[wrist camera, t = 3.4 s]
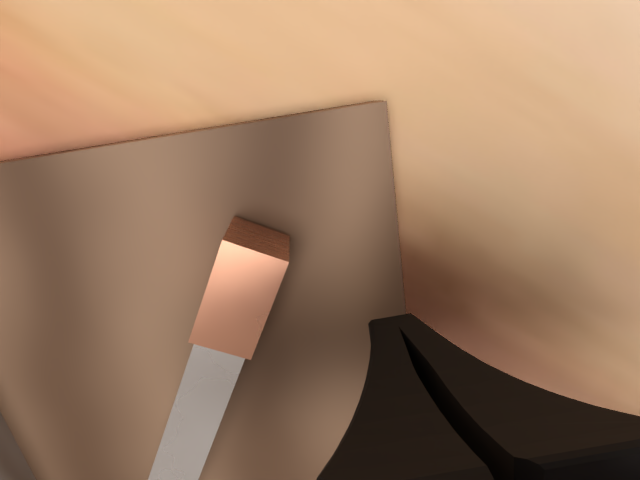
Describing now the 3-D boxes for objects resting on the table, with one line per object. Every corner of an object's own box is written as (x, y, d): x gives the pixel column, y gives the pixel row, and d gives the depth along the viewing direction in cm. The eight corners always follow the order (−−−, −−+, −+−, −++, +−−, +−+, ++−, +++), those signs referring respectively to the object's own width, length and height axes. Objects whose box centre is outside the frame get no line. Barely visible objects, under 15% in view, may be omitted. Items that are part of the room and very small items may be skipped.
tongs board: (375, 100, 12) (423, 101, 8) (416, 513, 18) (457, 648, 14) (-345, 217, 12) (-721, 286, 8) (-65, 597, 18) (-184, 762, 14)
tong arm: (167, 552, 16) (149, 617, 14) (123, 544, 16) (99, 609, 14) (289, 235, 12) (289, 262, 10) (233, 216, 12) (222, 240, 10)
